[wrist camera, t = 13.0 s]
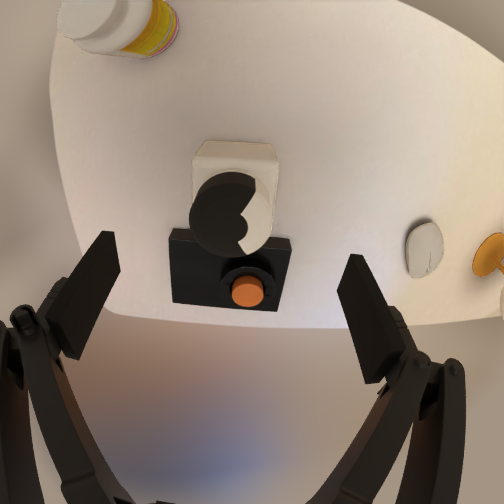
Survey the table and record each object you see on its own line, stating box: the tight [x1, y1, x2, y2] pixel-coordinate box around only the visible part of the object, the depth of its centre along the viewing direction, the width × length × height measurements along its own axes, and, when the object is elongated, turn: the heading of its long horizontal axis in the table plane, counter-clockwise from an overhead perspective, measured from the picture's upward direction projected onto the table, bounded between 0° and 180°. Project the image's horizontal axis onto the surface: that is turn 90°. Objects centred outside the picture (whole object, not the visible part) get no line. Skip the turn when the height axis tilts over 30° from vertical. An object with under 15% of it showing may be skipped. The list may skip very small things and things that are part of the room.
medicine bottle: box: [189, 141, 279, 257], centre depth 25 cm, size 7×7×12 cm
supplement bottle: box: [57, 0, 179, 58], centre depth 15 cm, size 7×7×13 cm
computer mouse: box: [406, 223, 444, 279], centre depth 34 cm, size 6×10×3 cm, turn 25°
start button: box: [232, 276, 263, 307], centre depth 33 cm, size 4×4×2 cm
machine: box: [169, 228, 292, 312], centre depth 35 cm, size 14×10×4 cm
